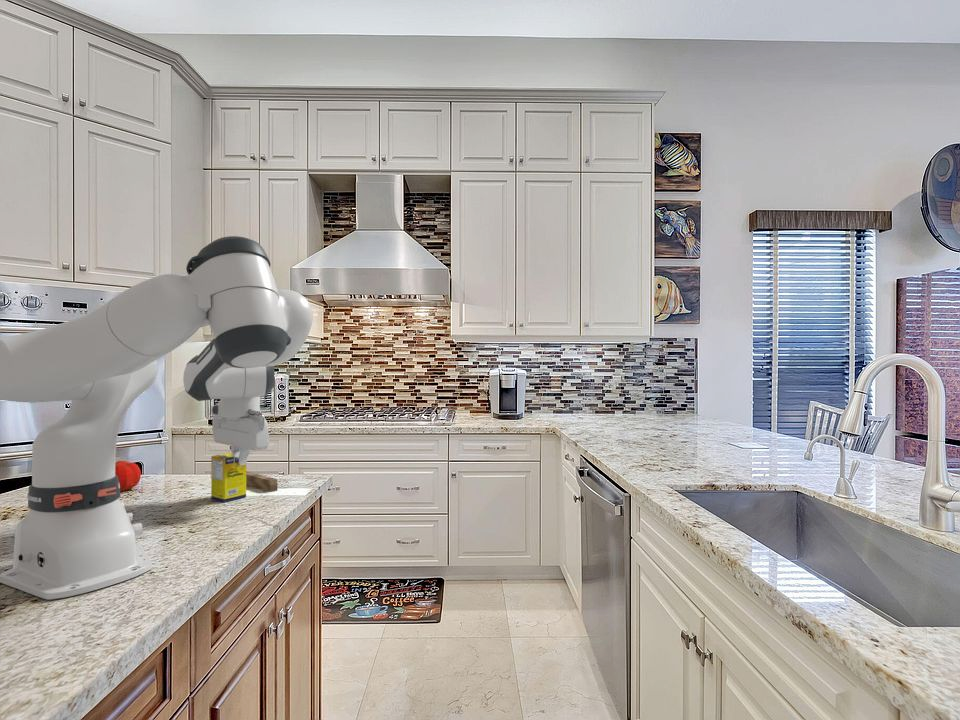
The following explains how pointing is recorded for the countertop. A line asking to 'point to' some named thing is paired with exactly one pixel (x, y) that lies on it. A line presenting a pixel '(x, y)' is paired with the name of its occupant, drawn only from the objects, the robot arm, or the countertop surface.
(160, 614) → the countertop surface
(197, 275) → the robot arm
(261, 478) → the walnut rail
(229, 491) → the supplement box
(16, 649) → the countertop surface
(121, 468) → the tomato
